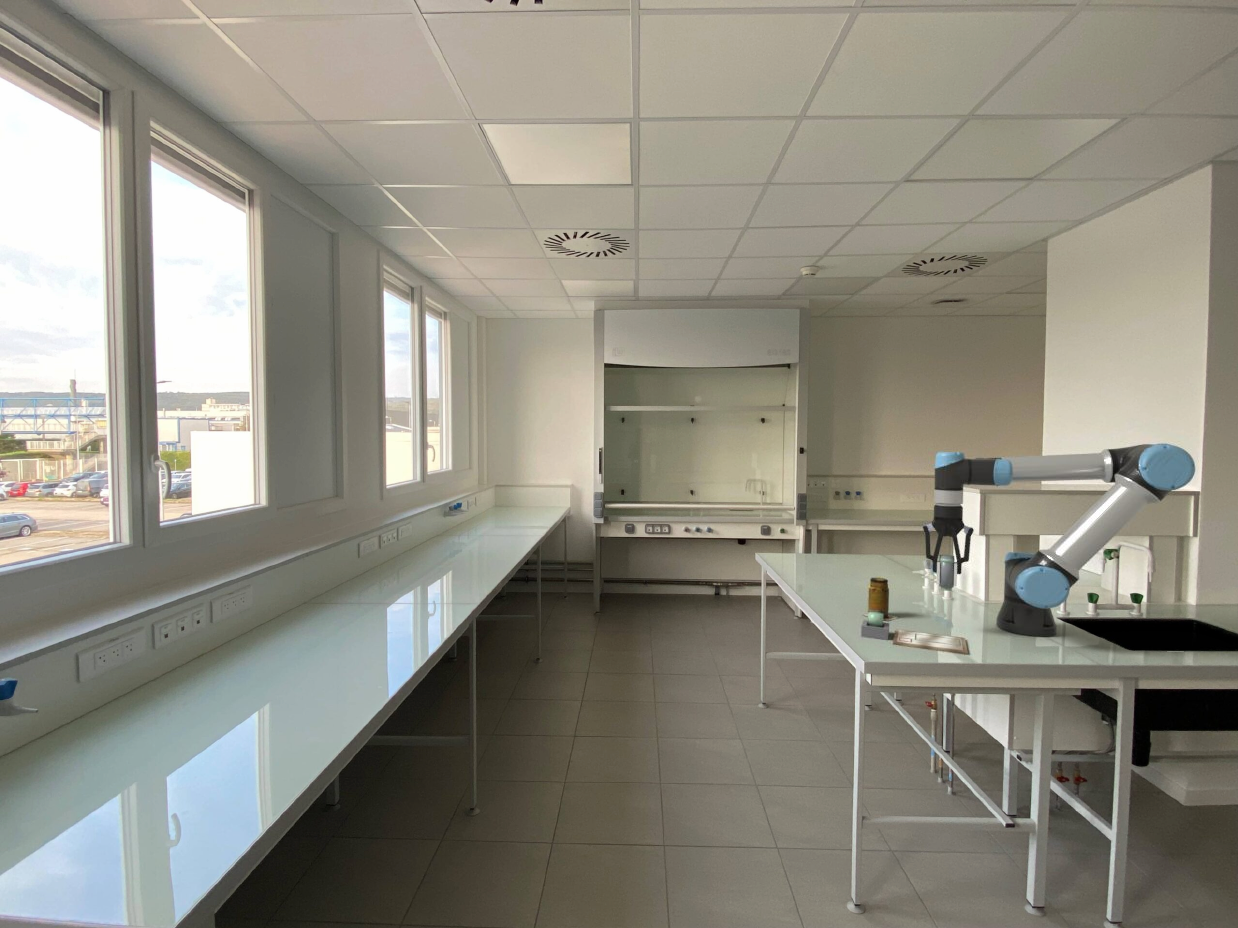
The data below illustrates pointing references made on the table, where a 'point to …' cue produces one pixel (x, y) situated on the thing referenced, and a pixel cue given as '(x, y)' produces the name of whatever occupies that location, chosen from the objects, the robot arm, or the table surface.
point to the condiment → (879, 597)
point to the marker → (946, 572)
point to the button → (875, 618)
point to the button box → (875, 630)
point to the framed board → (930, 641)
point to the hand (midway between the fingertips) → (946, 583)
